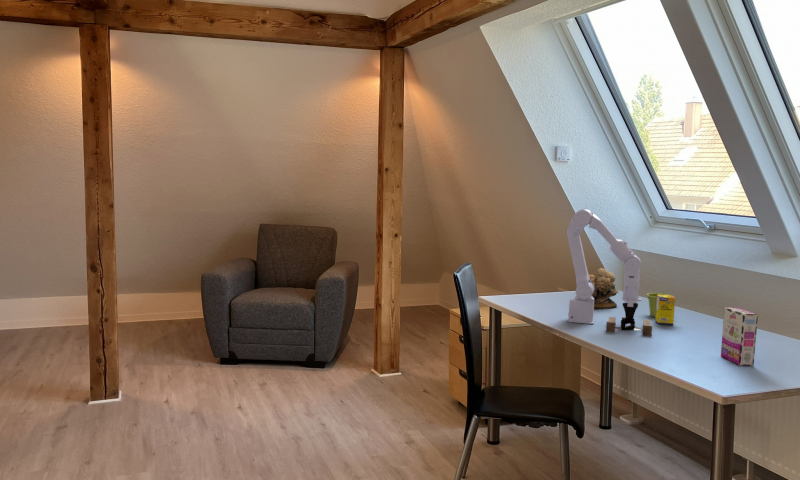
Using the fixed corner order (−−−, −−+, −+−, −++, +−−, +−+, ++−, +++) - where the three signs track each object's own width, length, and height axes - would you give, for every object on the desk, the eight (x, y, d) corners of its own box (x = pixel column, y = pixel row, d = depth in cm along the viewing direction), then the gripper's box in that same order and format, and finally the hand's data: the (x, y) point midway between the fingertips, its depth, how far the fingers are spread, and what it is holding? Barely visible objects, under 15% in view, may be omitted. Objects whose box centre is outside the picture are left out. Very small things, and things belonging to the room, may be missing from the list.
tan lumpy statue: (608, 303, 309) (611, 265, 307) (624, 308, 298) (627, 269, 296) (573, 304, 304) (575, 266, 302) (588, 310, 293) (590, 270, 291)
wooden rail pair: (606, 331, 254) (606, 322, 254) (607, 323, 267) (608, 314, 267) (651, 336, 249) (652, 326, 249) (650, 327, 262) (651, 318, 262)
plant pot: (666, 319, 277) (667, 298, 276) (642, 316, 283) (643, 295, 282) (672, 315, 285) (674, 295, 284) (649, 312, 290) (651, 292, 289)
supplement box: (673, 325, 266) (675, 297, 265) (657, 324, 268) (659, 296, 266) (670, 322, 272) (672, 295, 271) (654, 321, 273) (656, 294, 272)
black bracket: (637, 327, 265) (638, 315, 264) (647, 332, 258) (648, 320, 257) (607, 328, 262) (608, 316, 262) (617, 332, 255) (618, 320, 255)
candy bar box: (754, 366, 213) (759, 314, 211) (739, 366, 213) (743, 314, 211) (734, 356, 224) (738, 306, 222) (719, 356, 224) (723, 306, 222)
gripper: (642, 290, 254) (640, 326, 256) (642, 284, 268) (640, 318, 269) (622, 289, 257) (620, 325, 258) (623, 283, 270) (621, 317, 272)
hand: (629, 321), depth 264 cm, fingers closed
